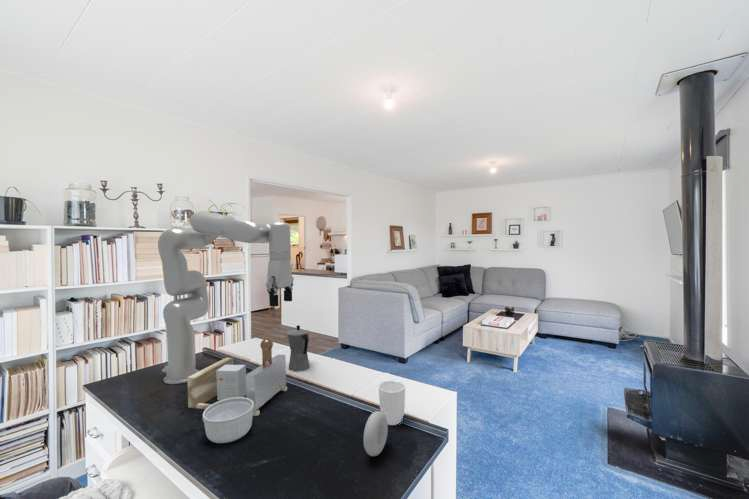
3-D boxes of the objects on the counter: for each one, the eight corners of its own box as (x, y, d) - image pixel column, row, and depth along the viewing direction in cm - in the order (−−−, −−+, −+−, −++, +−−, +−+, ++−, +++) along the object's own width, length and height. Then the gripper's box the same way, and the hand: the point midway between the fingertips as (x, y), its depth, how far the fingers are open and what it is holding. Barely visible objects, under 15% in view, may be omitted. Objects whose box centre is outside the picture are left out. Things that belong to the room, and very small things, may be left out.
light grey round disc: (378, 439, 87) (377, 403, 87) (390, 443, 85) (389, 405, 85) (361, 463, 78) (360, 422, 78) (374, 467, 76) (373, 425, 76)
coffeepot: (282, 365, 142) (281, 324, 141) (302, 360, 147) (301, 320, 147) (297, 376, 129) (296, 331, 129) (318, 370, 135) (317, 327, 135)
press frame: (188, 407, 106) (187, 377, 106) (227, 383, 124) (226, 357, 124) (256, 416, 100) (256, 384, 100) (287, 389, 118) (286, 362, 118)
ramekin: (221, 453, 83) (220, 426, 83) (193, 437, 90) (192, 412, 90) (264, 427, 94) (263, 403, 94) (235, 415, 101) (235, 393, 101)
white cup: (408, 414, 99) (407, 382, 99) (402, 428, 92) (401, 393, 92) (383, 410, 102) (383, 379, 102) (375, 424, 94) (375, 390, 94)
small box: (247, 393, 115) (246, 364, 115) (239, 401, 110) (238, 370, 109) (225, 393, 116) (225, 364, 116) (216, 400, 110) (215, 370, 110)
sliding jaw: (245, 409, 101) (243, 347, 100) (277, 384, 119) (276, 331, 118) (256, 411, 100) (255, 348, 99) (287, 385, 118) (286, 331, 117)
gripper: (283, 255, 127) (284, 299, 128) (256, 257, 111) (258, 308, 111) (300, 255, 125) (301, 299, 126) (276, 257, 109) (278, 308, 109)
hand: (281, 303), depth 118 cm, fingers open, 9 cm apart
